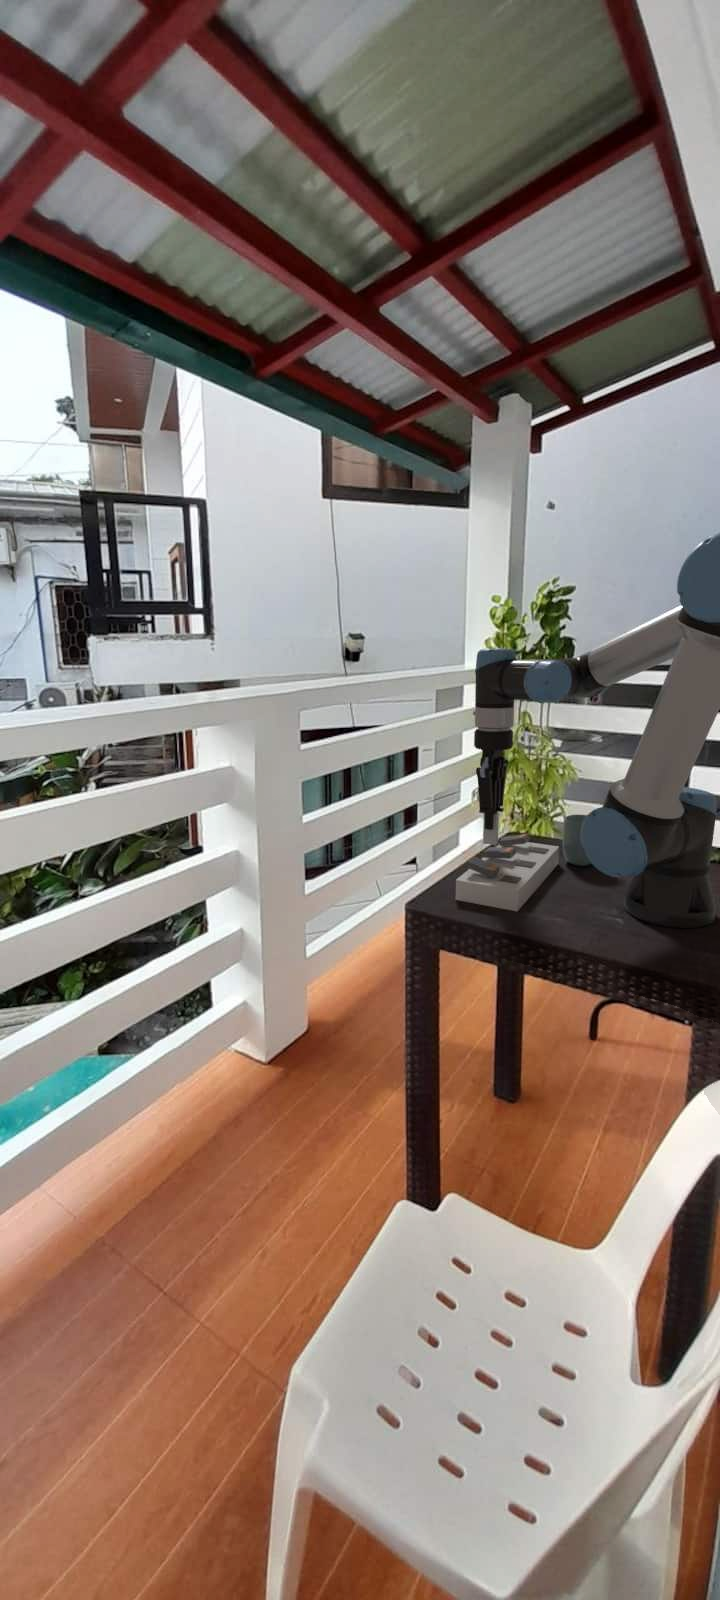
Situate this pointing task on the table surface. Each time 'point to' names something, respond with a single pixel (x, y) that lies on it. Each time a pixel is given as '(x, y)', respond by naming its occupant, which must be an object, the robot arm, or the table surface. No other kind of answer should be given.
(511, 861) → the power strip
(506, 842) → the rocker
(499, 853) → the rocker
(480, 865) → the rocker
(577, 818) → the cup
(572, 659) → the robot arm
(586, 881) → the table surface
